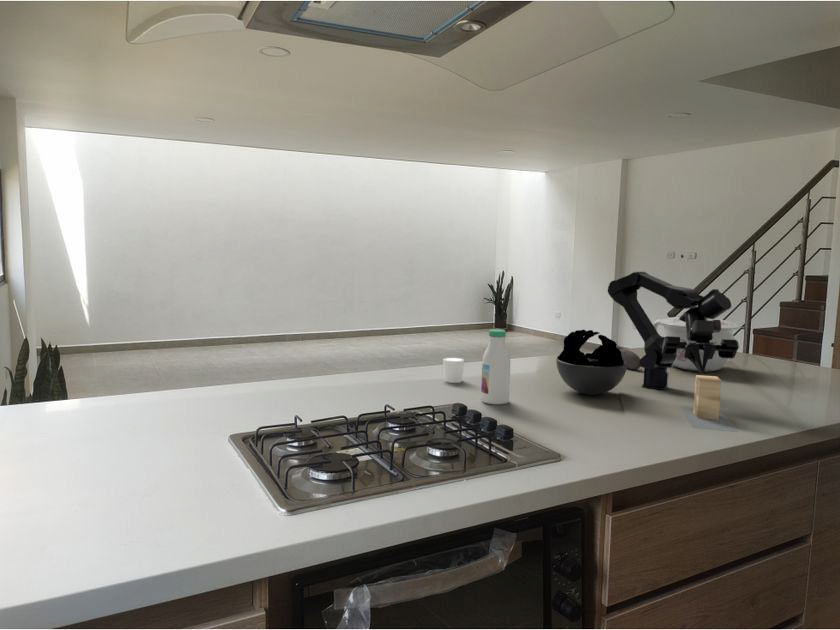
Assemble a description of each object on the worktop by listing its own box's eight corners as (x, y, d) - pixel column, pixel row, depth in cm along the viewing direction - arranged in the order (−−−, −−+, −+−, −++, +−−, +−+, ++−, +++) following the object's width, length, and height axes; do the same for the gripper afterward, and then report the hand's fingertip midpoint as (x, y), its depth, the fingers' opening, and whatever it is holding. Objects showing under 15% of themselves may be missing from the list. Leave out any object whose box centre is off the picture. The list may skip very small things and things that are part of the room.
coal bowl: (558, 383, 185) (561, 324, 183) (625, 389, 179) (629, 328, 177) (550, 398, 167) (553, 333, 164) (625, 406, 160) (629, 338, 158)
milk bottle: (511, 399, 164) (514, 329, 162) (506, 406, 157) (508, 332, 155) (484, 396, 167) (486, 327, 165) (478, 403, 160) (480, 331, 157)
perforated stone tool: (645, 371, 207) (646, 352, 206) (634, 372, 205) (635, 352, 204) (615, 363, 221) (616, 345, 220) (604, 364, 218) (605, 345, 218)
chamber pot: (753, 377, 201) (758, 317, 198) (673, 375, 201) (677, 315, 199) (713, 361, 228) (718, 308, 226) (643, 359, 229) (646, 307, 226)
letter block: (693, 412, 154) (695, 374, 153) (713, 414, 152) (716, 376, 151) (696, 417, 149) (699, 379, 148) (718, 419, 148) (721, 380, 146)
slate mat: (681, 410, 157) (681, 409, 157) (722, 413, 154) (722, 412, 154) (693, 429, 140) (693, 427, 140) (739, 433, 138) (739, 431, 138)
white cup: (439, 381, 184) (439, 360, 183) (446, 377, 191) (447, 356, 190) (460, 384, 182) (460, 362, 181) (466, 379, 188) (467, 358, 187)
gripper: (666, 307, 164) (670, 352, 154) (740, 310, 159) (748, 357, 150) (660, 331, 172) (663, 376, 163) (729, 335, 168) (737, 381, 158)
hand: (702, 372), depth 158 cm, fingers closed
